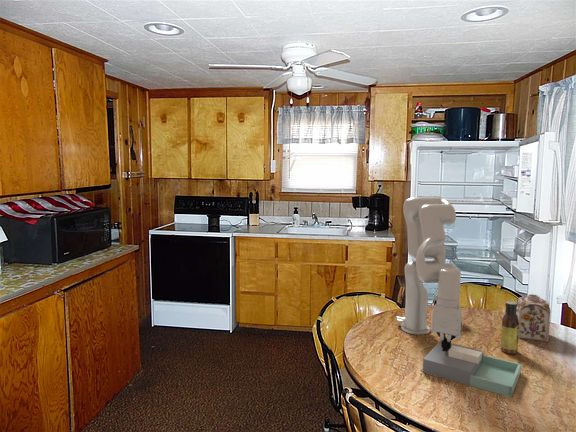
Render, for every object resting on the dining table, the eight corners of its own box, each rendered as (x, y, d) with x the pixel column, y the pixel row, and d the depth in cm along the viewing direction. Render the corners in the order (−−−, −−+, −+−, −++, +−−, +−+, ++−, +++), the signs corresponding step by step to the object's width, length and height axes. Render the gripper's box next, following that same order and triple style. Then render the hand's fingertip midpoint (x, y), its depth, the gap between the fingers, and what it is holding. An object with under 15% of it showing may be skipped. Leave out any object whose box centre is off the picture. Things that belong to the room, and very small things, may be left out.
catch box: (469, 385, 143) (470, 375, 143) (482, 363, 159) (483, 354, 159) (511, 397, 136) (511, 387, 135) (520, 373, 152) (521, 363, 152)
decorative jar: (548, 342, 179) (551, 301, 177) (517, 338, 183) (520, 297, 181) (543, 332, 190) (546, 293, 188) (514, 328, 194) (516, 290, 192)
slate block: (422, 372, 152) (423, 358, 152) (439, 352, 169) (440, 340, 168) (469, 385, 143) (470, 371, 143) (482, 363, 159) (483, 350, 159)
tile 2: (463, 360, 151) (463, 353, 151) (466, 355, 155) (467, 348, 155) (478, 364, 148) (478, 357, 148) (481, 358, 152) (481, 352, 152)
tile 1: (448, 356, 154) (448, 349, 154) (452, 351, 158) (452, 345, 158) (462, 360, 151) (463, 353, 151) (466, 355, 155) (467, 348, 155)
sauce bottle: (520, 355, 166) (523, 306, 164) (502, 354, 168) (505, 305, 165) (514, 348, 173) (517, 301, 170) (498, 347, 174) (501, 300, 172)
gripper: (424, 300, 156) (422, 348, 158) (467, 308, 147) (464, 359, 149) (430, 295, 162) (428, 342, 164) (472, 303, 153) (469, 352, 155)
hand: (445, 350), depth 157 cm, fingers closed
